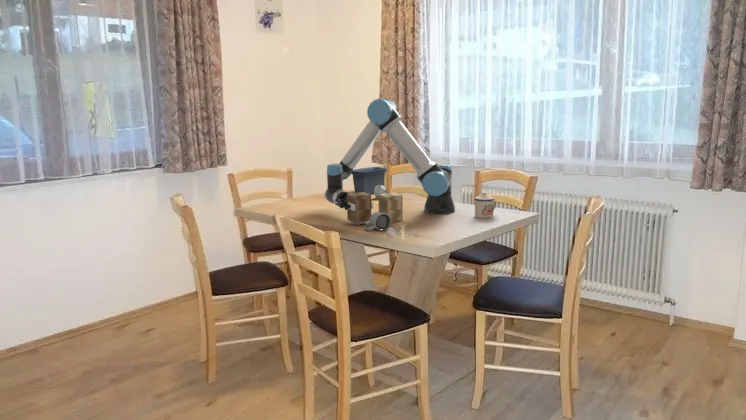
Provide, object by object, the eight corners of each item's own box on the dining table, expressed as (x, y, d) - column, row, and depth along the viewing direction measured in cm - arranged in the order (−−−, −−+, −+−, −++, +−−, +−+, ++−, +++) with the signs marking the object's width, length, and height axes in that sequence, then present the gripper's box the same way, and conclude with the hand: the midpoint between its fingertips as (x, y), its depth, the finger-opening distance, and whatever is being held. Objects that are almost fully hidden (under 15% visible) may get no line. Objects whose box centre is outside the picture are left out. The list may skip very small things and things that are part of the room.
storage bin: (363, 196, 346) (362, 171, 344) (345, 193, 358) (345, 169, 355) (390, 192, 360) (389, 168, 358) (372, 189, 372) (372, 166, 369)
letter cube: (361, 222, 279) (361, 213, 278) (365, 224, 275) (365, 215, 275) (353, 223, 277) (353, 214, 276) (357, 225, 274) (357, 216, 273)
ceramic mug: (383, 226, 271) (383, 209, 269) (391, 230, 263) (391, 212, 262) (361, 229, 266) (361, 212, 265) (369, 233, 259) (368, 215, 257)
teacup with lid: (483, 219, 282) (483, 194, 280) (470, 216, 289) (470, 192, 287) (502, 216, 288) (502, 192, 286) (489, 213, 296) (489, 189, 293)
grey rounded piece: (381, 205, 338) (380, 193, 331) (369, 199, 342) (368, 186, 335) (391, 196, 342) (390, 184, 335) (380, 189, 346) (378, 177, 339)
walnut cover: (363, 217, 281) (363, 192, 279) (371, 220, 274) (371, 194, 272) (347, 219, 278) (346, 193, 275) (354, 222, 271) (354, 196, 268)
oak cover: (394, 217, 289) (393, 192, 286) (402, 220, 282) (402, 195, 279) (378, 219, 285) (378, 194, 283) (386, 222, 278) (386, 196, 276)
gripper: (363, 204, 296) (384, 212, 276) (323, 208, 287) (342, 217, 267) (362, 189, 294) (384, 196, 274) (322, 193, 285) (341, 200, 265)
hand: (363, 206), depth 270 cm, fingers closed on walnut cover, 8 cm apart
